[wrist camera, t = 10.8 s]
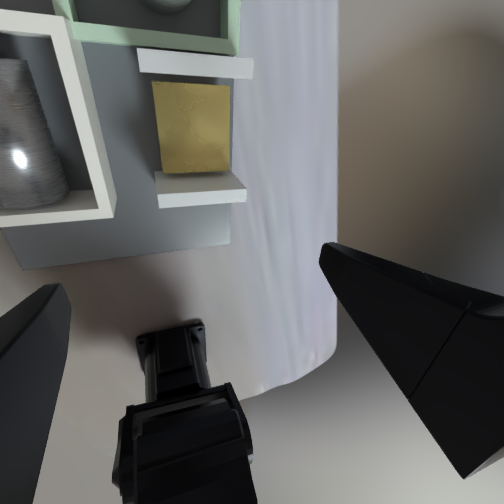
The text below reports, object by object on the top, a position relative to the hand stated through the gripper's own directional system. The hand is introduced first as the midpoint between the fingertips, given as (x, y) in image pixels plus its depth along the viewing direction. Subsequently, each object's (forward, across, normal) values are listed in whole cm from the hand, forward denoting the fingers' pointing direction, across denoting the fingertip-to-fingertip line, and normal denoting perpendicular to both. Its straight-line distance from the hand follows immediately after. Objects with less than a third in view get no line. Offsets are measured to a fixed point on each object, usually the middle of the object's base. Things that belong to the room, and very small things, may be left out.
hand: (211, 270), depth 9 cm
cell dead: (+11, +7, -3) cm, 13 cm away
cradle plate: (+10, -1, -3) cm, 11 cm away
